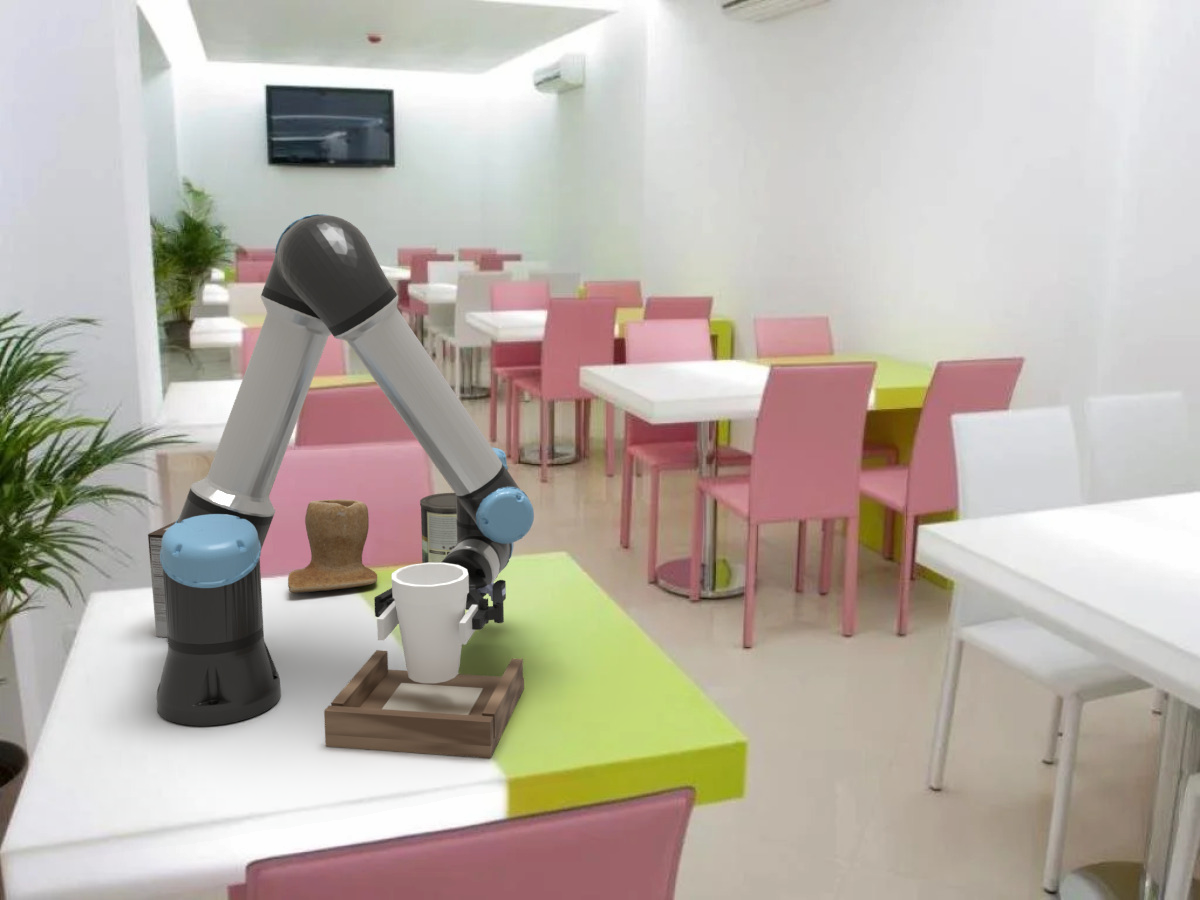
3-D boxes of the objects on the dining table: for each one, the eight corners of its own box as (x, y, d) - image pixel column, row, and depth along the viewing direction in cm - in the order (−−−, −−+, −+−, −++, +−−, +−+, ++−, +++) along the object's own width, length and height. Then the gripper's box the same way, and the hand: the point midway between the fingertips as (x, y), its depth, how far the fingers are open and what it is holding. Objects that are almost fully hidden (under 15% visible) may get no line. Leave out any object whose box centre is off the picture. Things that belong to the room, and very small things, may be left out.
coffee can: (409, 578, 196) (407, 499, 193) (456, 565, 203) (455, 489, 201) (446, 591, 189) (445, 510, 186) (493, 578, 196) (492, 500, 194)
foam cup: (382, 670, 142) (378, 571, 139) (446, 653, 148) (443, 557, 145) (418, 695, 135) (414, 591, 132) (484, 676, 140) (482, 576, 138)
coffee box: (188, 616, 176) (181, 517, 173) (225, 619, 175) (219, 519, 172) (154, 637, 167) (146, 533, 164) (193, 640, 166) (186, 536, 163)
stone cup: (369, 571, 200) (366, 488, 197) (382, 591, 189) (380, 504, 186) (281, 580, 194) (277, 495, 191) (289, 602, 183) (285, 512, 180)
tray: (379, 679, 153) (378, 648, 152) (524, 688, 151) (524, 656, 150) (325, 746, 134) (324, 710, 133) (490, 758, 131) (490, 722, 130)
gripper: (545, 602, 157) (511, 665, 135) (391, 596, 159) (334, 656, 138) (544, 550, 155) (510, 606, 133) (389, 544, 158) (331, 598, 136)
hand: (421, 631), depth 135 cm, fingers closed on foam cup, 9 cm apart
